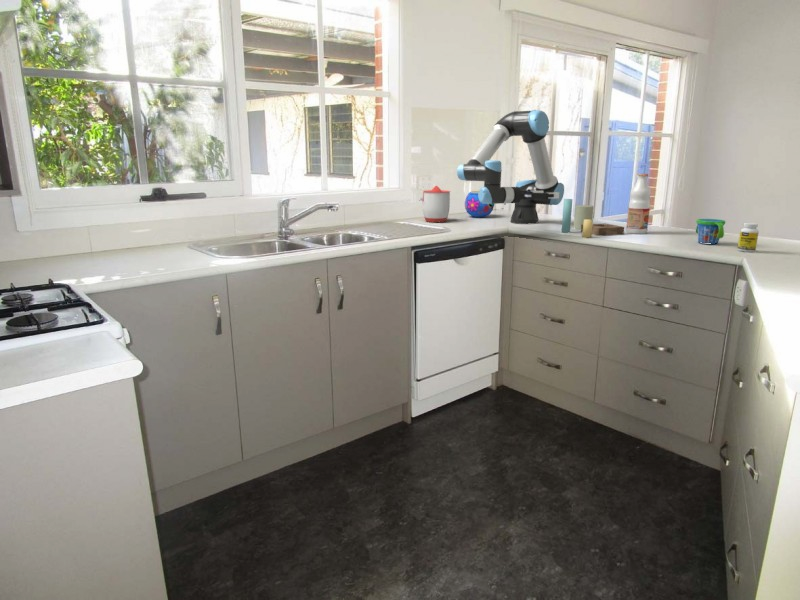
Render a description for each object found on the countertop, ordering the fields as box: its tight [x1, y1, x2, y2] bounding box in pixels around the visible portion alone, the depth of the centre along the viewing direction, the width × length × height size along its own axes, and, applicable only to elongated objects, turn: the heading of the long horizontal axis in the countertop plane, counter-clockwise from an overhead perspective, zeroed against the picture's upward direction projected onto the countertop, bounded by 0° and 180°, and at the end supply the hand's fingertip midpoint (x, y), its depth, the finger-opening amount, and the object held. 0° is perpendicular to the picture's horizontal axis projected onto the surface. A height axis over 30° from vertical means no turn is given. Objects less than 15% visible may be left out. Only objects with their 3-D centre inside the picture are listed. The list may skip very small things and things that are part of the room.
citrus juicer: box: [419, 185, 451, 223], centre depth 313 cm, size 16×17×20 cm
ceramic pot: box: [464, 190, 495, 218], centre depth 334 cm, size 18×18×15 cm
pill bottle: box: [737, 222, 760, 253], centre depth 221 cm, size 6×6×11 cm
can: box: [573, 204, 595, 230], centre depth 286 cm, size 9×9×12 cm
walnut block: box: [580, 222, 625, 236], centre depth 271 cm, size 14×14×4 cm
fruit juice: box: [626, 173, 652, 235], centre depth 268 cm, size 9×9×28 cm
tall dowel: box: [561, 198, 573, 234], centre depth 272 cm, size 4×4×16 cm
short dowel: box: [581, 219, 594, 239], centre depth 257 cm, size 4×4×8 cm
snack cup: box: [695, 218, 726, 245], centre depth 239 cm, size 16×10×10 cm
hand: (550, 194), depth 266 cm, fingers open, 13 cm apart
